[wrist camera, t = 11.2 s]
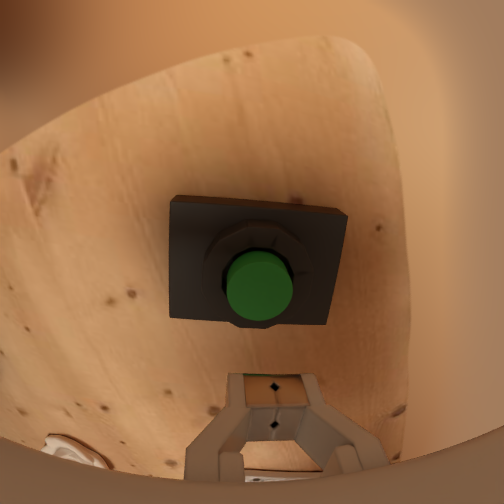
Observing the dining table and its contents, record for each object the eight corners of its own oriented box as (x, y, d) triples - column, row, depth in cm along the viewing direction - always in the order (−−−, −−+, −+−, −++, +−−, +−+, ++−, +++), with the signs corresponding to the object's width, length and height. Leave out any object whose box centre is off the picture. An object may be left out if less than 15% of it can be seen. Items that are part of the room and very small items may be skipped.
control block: (337, 208, 22) (359, 223, 18) (318, 310, 24) (333, 339, 21) (175, 194, 21) (164, 207, 17) (173, 302, 23) (165, 332, 20)
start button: (291, 252, 19) (297, 263, 17) (283, 307, 20) (287, 322, 18) (229, 248, 18) (229, 259, 17) (224, 304, 19) (224, 319, 18)
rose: (54, 491, 27) (19, 451, 24) (62, 468, 32) (31, 427, 28) (117, 505, 28) (86, 467, 25) (122, 479, 32) (95, 439, 29)
